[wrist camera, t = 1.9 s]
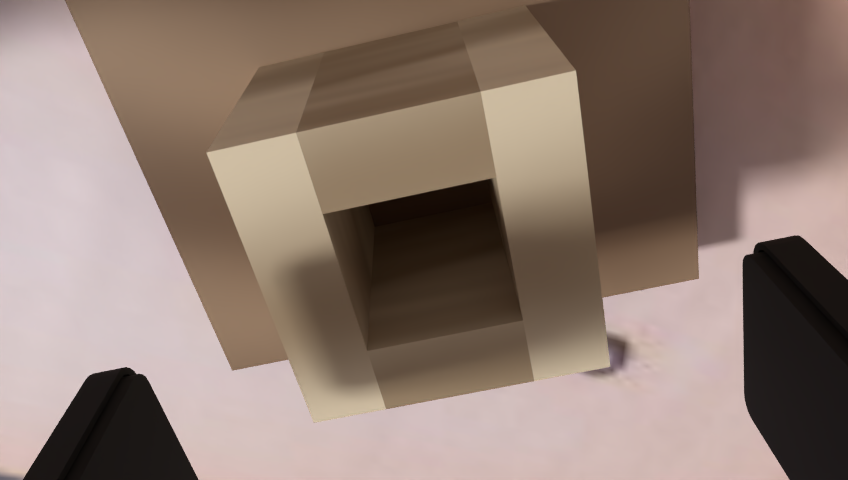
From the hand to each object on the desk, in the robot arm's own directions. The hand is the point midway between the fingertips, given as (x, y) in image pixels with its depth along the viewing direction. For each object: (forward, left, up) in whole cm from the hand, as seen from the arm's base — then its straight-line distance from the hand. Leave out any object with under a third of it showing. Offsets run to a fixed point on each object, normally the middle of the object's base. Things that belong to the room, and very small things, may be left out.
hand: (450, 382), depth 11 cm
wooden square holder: (-1, 0, -7) cm, 7 cm away
